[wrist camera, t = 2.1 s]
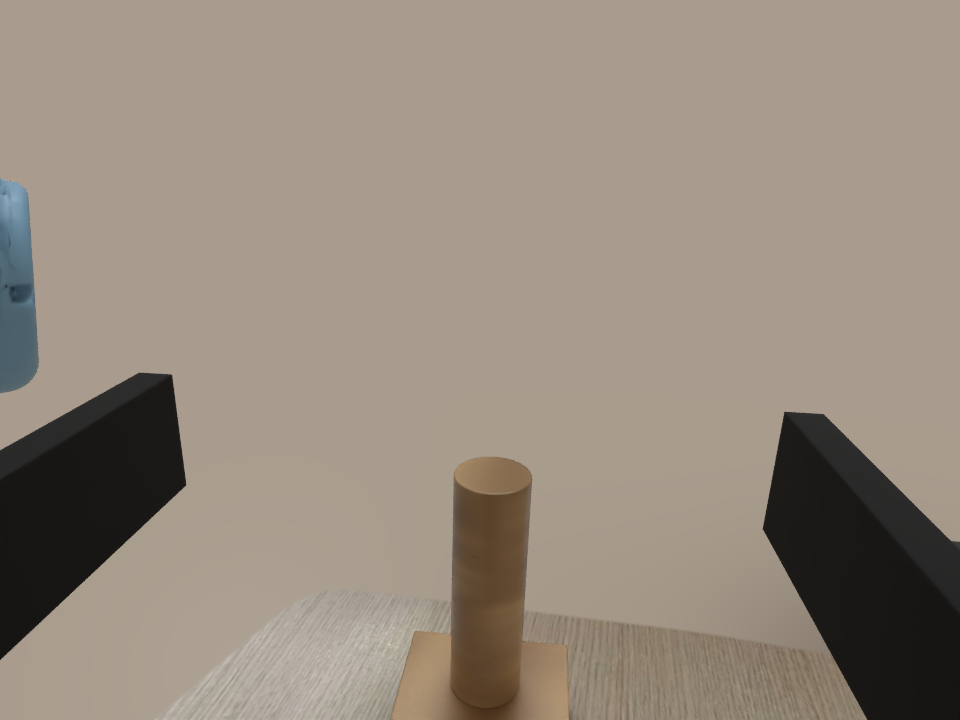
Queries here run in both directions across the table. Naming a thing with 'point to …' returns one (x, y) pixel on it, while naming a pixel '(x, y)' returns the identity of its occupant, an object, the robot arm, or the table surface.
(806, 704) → the table surface
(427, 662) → the wooden peg stand
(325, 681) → the table surface
